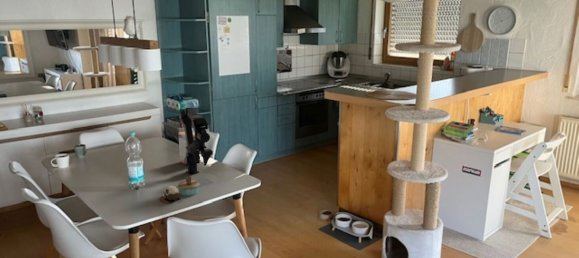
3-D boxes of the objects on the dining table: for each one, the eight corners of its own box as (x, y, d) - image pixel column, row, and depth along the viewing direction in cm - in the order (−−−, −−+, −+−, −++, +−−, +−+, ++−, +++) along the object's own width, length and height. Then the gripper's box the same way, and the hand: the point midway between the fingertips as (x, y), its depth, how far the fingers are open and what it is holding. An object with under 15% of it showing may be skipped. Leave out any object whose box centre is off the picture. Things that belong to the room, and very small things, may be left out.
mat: (186, 182, 260) (186, 181, 260) (203, 177, 268) (203, 176, 268) (196, 188, 252) (196, 187, 252) (214, 183, 260) (214, 182, 260)
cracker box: (198, 165, 290) (196, 135, 284) (190, 167, 286) (188, 136, 281) (187, 160, 300) (186, 130, 294) (179, 161, 296) (177, 132, 291)
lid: (174, 185, 246) (173, 177, 245) (193, 179, 254) (192, 172, 253) (184, 191, 237) (184, 183, 236) (203, 185, 245) (203, 177, 244)
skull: (153, 198, 236) (163, 181, 239) (166, 205, 243) (176, 189, 247) (166, 203, 228) (176, 186, 232) (179, 211, 236) (188, 194, 239)
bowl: (175, 191, 247) (175, 185, 246) (192, 186, 254) (192, 180, 253) (185, 197, 239) (185, 190, 238) (202, 192, 246) (202, 185, 245)
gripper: (179, 137, 255) (180, 162, 259) (195, 144, 242) (197, 170, 246) (196, 134, 262) (197, 158, 266) (212, 140, 249) (214, 166, 253)
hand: (200, 163), depth 258 cm, fingers open, 9 cm apart
